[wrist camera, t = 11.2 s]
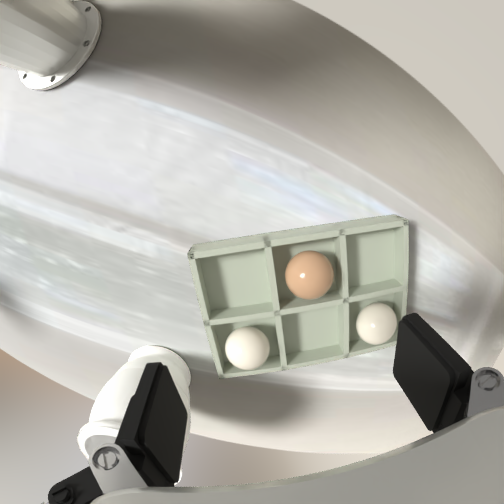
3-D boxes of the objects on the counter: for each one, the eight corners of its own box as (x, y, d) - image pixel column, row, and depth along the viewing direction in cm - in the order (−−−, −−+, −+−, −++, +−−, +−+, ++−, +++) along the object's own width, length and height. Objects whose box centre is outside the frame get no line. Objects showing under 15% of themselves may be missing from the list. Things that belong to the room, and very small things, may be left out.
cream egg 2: (350, 300, 31) (365, 319, 26) (387, 292, 31) (405, 309, 26) (350, 335, 32) (363, 357, 27) (385, 326, 32) (402, 346, 27)
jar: (123, 326, 32) (68, 411, 18) (206, 349, 33) (188, 450, 19) (121, 387, 35) (84, 468, 20) (192, 407, 36) (177, 497, 21)
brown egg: (279, 248, 29) (285, 263, 24) (324, 241, 29) (338, 254, 24) (284, 291, 30) (291, 312, 26) (328, 283, 30) (341, 303, 26)
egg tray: (192, 244, 30) (187, 253, 26) (393, 214, 29) (408, 219, 26) (220, 362, 33) (219, 378, 30) (392, 329, 33) (402, 342, 30)
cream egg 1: (222, 321, 31) (219, 345, 26) (265, 315, 31) (268, 338, 26) (230, 355, 32) (228, 381, 28) (270, 350, 32) (274, 375, 28)
